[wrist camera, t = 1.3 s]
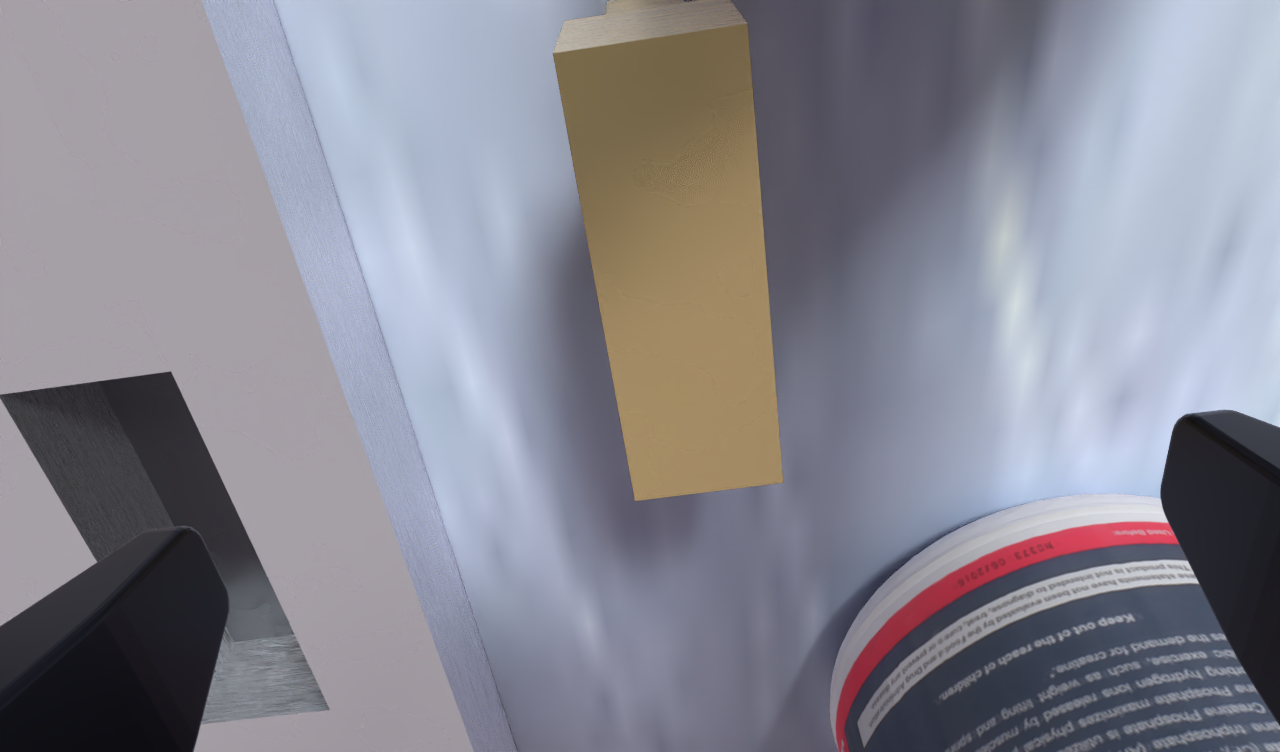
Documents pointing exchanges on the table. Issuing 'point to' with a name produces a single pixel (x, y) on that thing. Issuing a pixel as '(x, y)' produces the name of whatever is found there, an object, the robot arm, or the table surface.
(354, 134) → the table surface
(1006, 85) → the table surface
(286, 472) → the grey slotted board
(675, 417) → the tan pronged block
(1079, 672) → the supplement tub
